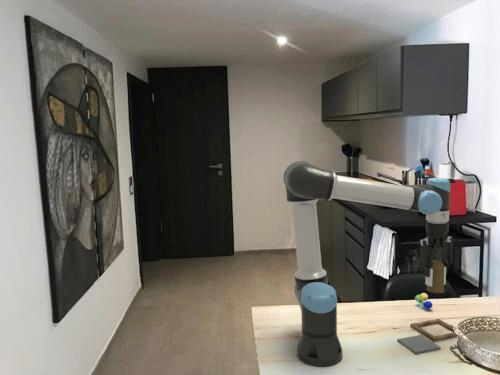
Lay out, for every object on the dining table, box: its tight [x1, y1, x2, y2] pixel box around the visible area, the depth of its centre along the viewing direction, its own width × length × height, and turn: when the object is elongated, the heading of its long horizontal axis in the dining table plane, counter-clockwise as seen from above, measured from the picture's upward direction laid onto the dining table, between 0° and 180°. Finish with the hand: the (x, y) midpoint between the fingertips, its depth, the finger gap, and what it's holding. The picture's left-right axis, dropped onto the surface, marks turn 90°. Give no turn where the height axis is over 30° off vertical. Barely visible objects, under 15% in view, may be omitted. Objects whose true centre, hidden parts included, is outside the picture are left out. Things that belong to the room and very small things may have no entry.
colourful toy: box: [414, 292, 433, 310], centre depth 184 cm, size 8×3×6 cm, turn 20°
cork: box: [426, 259, 445, 294], centre depth 159 cm, size 6×6×11 cm
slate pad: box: [396, 334, 442, 355], centre depth 153 cm, size 10×10×1 cm
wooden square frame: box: [409, 318, 458, 343], centre depth 163 cm, size 13×13×1 cm
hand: (435, 284), depth 160 cm, fingers closed on cork, 5 cm apart
